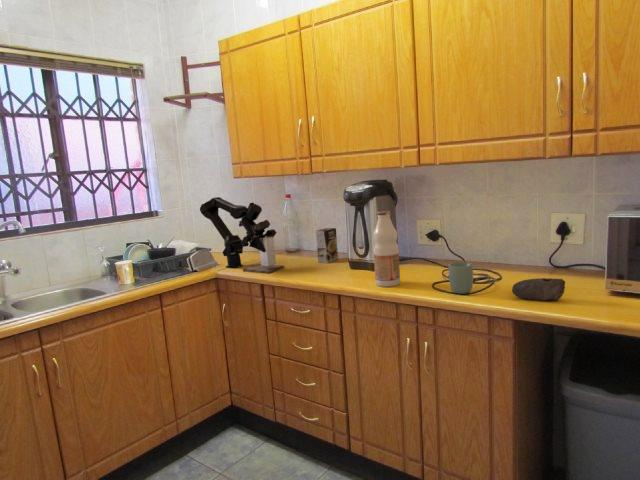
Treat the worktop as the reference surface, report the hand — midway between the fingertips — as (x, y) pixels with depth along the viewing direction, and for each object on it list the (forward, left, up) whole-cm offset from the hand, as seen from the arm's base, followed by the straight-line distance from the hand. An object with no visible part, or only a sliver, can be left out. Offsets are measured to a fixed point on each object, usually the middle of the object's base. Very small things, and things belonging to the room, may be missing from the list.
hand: (269, 250), depth 211 cm
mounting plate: (-6, +1, -10) cm, 11 cm away
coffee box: (+15, +26, -10) cm, 32 cm away
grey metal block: (-43, -5, -10) cm, 44 cm away
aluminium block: (-1, 0, -7) cm, 7 cm away
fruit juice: (+63, -4, -10) cm, 64 cm away
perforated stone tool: (+116, -6, -10) cm, 117 cm away
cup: (+92, -6, -10) cm, 93 cm away
